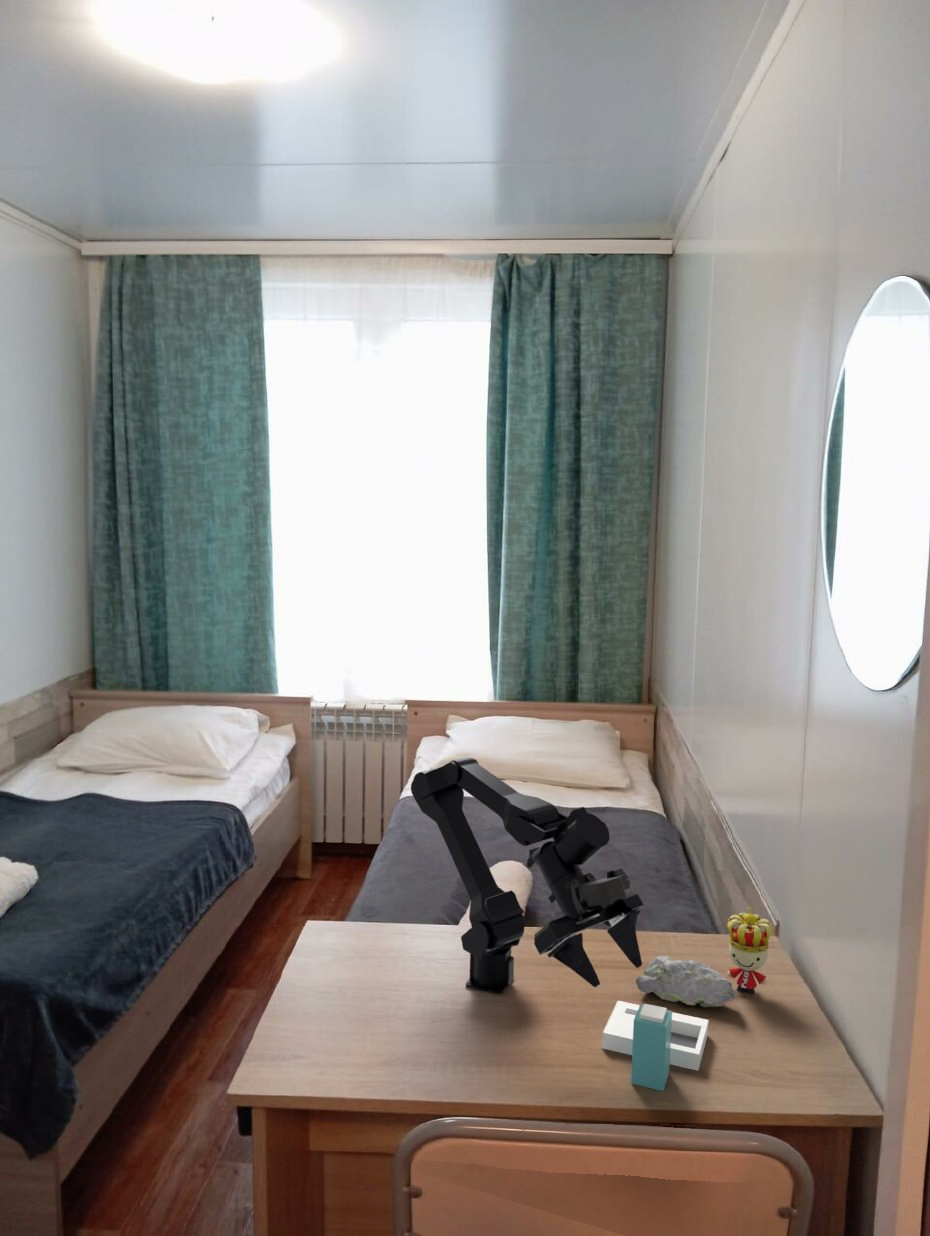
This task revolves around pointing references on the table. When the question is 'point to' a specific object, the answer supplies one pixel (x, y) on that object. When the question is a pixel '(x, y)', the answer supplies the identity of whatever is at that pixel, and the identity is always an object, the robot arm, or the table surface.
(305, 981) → the table surface
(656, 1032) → the plug
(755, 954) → the toy
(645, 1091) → the table surface
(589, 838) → the robot arm
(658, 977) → the rock
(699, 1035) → the socket plate
